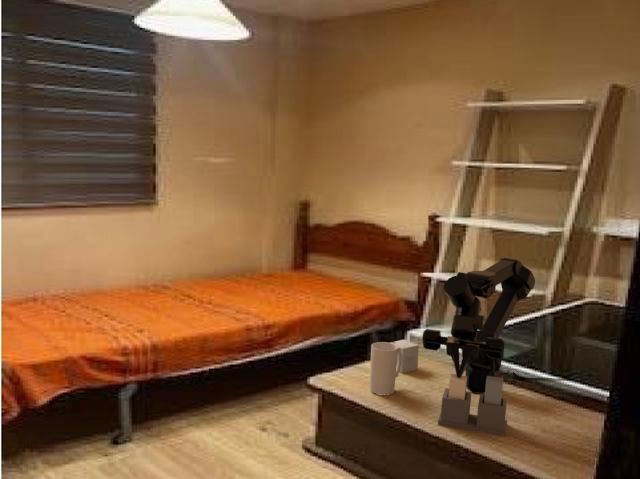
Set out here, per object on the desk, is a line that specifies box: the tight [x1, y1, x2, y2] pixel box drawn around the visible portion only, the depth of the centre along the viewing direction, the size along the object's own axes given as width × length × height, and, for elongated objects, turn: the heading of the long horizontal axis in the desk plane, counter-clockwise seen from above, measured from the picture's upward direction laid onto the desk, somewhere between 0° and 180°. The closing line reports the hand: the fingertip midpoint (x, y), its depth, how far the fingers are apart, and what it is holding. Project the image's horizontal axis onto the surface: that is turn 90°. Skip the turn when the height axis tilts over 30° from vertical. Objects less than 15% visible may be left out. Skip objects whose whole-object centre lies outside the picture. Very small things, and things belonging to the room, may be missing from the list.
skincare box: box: [389, 339, 420, 374], centre depth 177 cm, size 6×6×7 cm
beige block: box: [448, 373, 467, 400], centre depth 144 cm, size 4×4×7 cm
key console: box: [437, 387, 508, 437], centre depth 143 cm, size 6×15×6 cm, turn 72°
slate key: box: [484, 376, 504, 406], centre depth 141 cm, size 4×4×7 cm
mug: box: [369, 341, 402, 396], centre depth 161 cm, size 10×7×12 cm, turn 129°
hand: (458, 377), depth 143 cm, fingers closed, pressing on beige block
